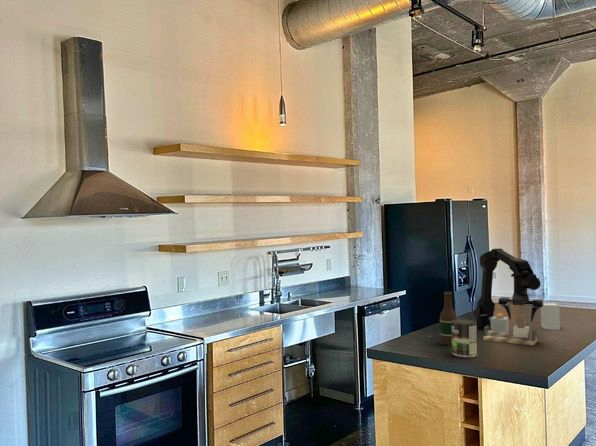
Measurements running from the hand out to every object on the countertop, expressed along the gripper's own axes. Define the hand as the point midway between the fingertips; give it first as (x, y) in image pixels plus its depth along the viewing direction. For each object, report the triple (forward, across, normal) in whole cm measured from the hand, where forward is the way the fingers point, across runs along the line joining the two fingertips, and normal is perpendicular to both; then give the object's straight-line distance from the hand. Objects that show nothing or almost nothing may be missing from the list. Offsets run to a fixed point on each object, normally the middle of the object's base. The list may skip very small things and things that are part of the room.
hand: (520, 320), depth 237 cm
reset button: (+3, -12, +12) cm, 17 cm away
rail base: (+10, -5, 0) cm, 11 cm away
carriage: (+7, 0, 0) cm, 7 cm away
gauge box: (+10, -12, +12) cm, 20 cm away
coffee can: (+10, -17, -35) cm, 40 cm away
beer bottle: (+10, -28, -20) cm, 36 cm away
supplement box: (+10, +8, +38) cm, 40 cm away
